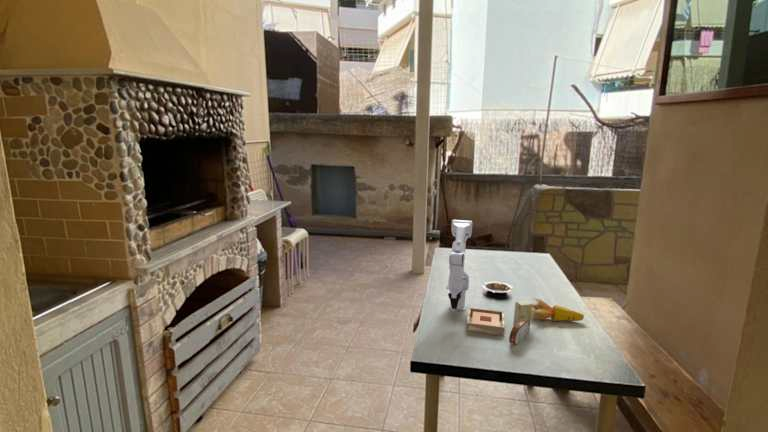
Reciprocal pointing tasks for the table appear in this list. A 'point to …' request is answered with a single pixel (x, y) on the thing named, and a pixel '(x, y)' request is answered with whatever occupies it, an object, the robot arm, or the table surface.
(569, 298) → the table surface
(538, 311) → the yellow tapered piece
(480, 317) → the socket plate
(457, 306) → the peg
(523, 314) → the skincare box
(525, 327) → the tin
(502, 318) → the open box
